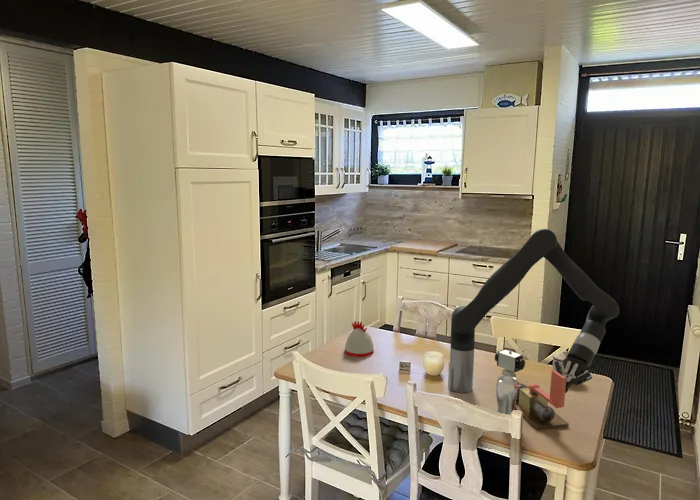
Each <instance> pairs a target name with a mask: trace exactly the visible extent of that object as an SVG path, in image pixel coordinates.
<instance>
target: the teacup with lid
mask: <svg viewBox="0 0 700 500" xmlns="http://www.w3.org/2000/svg"><path fill="white" fill-rule="evenodd" d="M568 352H569V351H568V350H562V351H561V352H556V353H554V354H553V355H552V358H553V359H552V369H551V372H552V371H556V372H557V370H556V366H555V362H556V361H557V362H562V361H563V360H564V359H565V358H566V357H567V354H568ZM564 370H565V369H564V365H563V369H562V373H563V374H564Z"/></svg>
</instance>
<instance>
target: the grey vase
mask: <svg viewBox="0 0 700 500" xmlns="http://www.w3.org/2000/svg"><path fill="white" fill-rule="evenodd" d="M518 385H519V384H518V379H517V378H516V377H515V378H513V377H510V376H504V375H500V376H498V377H497V382H496V392H495V393H496V395H495V396H496V402H497V412H500V413H505V414H511V412H512V411H513V410H514V411H515V409H514V407H515V403H516V399H517V391H518Z"/></svg>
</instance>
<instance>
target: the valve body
mask: <svg viewBox="0 0 700 500" xmlns="http://www.w3.org/2000/svg"><path fill="white" fill-rule="evenodd" d="M517 385H518V391H517V399H516V403H515V407H514V411H516V410H520V411H522V412H523V417H522V418H523V419H524V420H525V421H526V422H527V423H529V425H530V426H532V427H533V428H534V429H535V430H536V431H539V430H550V429H552V430H553V429H559V428H560V429H563V428H569V426H570V423H569V422H568V421H566V420H565V419H564V418H563V417H562V416H560V415H559V413H557V412H555V410H554V408H552V406H549V405H548V403H549V402H548V401H546V400H545V399H544V398H543V397H541V396H540V395H539V394H537V393H536V392H533V391H530V390H529V387H527V386H525V385H524V384H522V383H521V384H517Z"/></svg>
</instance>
